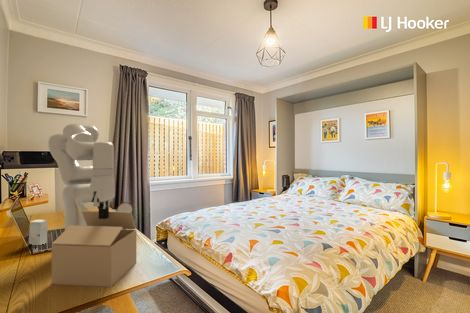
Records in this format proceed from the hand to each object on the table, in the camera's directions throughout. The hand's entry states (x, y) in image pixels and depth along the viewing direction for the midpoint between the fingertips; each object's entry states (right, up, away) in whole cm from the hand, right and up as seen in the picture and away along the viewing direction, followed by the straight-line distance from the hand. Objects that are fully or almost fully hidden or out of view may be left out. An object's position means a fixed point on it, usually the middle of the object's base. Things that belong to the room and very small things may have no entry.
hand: (103, 218), depth 94 cm
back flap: (0, -2, +4) cm, 4 cm away
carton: (-1, -20, -3) cm, 21 cm away
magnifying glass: (-7, -20, +31) cm, 38 cm away
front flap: (-1, -4, -8) cm, 9 cm away
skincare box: (-46, -20, +23) cm, 56 cm away
